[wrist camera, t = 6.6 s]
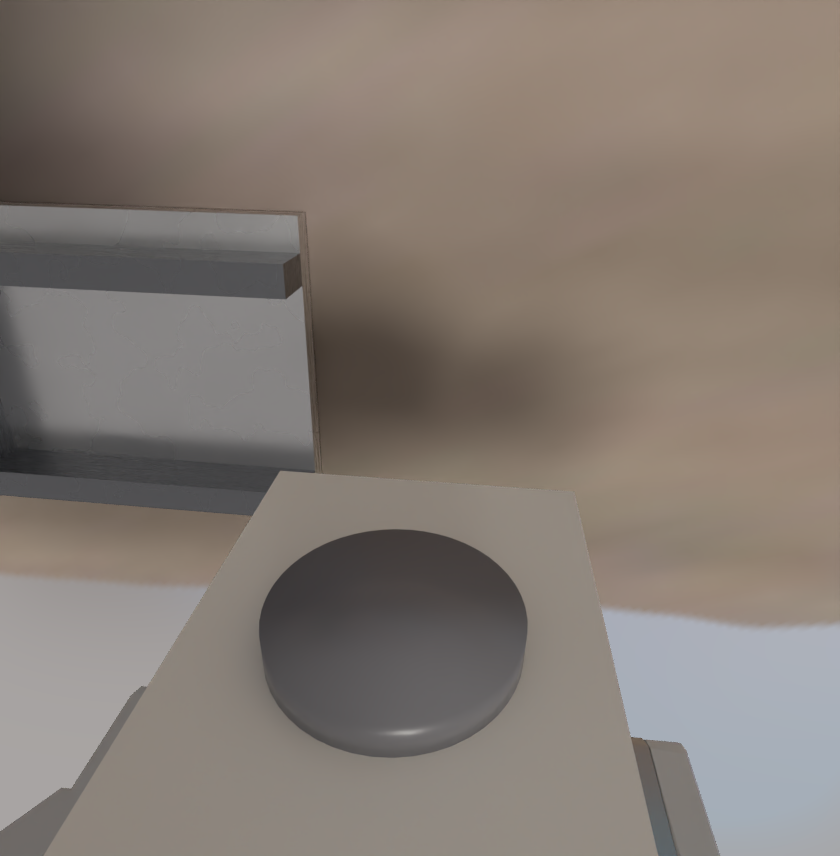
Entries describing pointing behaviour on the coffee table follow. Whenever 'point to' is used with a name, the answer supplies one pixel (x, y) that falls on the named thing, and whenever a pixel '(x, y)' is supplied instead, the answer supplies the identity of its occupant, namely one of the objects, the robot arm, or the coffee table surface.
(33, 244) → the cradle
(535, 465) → the coffee table surface
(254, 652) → the cream rectangular block
